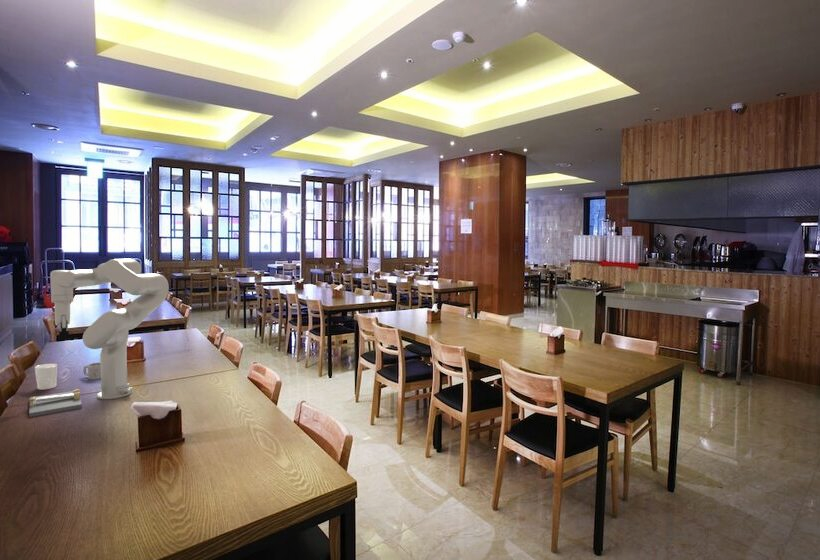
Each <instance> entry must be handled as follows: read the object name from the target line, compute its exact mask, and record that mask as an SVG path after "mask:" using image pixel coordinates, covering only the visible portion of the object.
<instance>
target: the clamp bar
mask: <svg viewBox="0 0 820 560" xmlns="http://www.w3.org/2000/svg"><path fill="white" fill-rule="evenodd" d="M35 397H36V402H40V401H49V400H57V399H65V398H74V393H71V394H62V395H54V396H45V397H37V396H35Z"/></svg>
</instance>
